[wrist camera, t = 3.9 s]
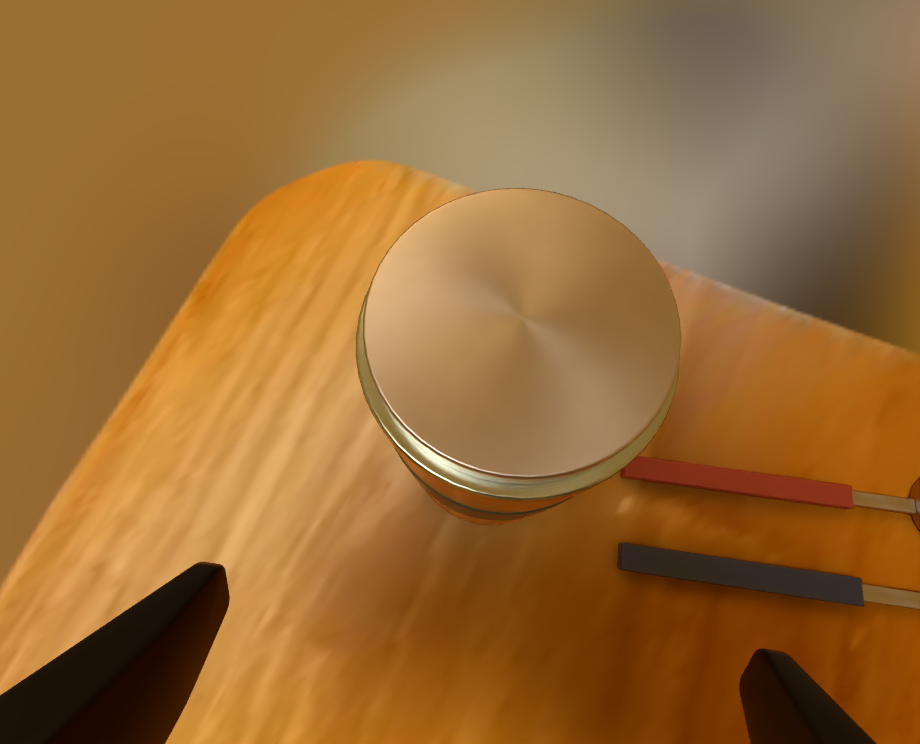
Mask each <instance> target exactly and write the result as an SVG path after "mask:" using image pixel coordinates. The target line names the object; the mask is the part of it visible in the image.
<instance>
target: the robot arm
mask: <svg viewBox="0 0 920 744" xmlns="http://www.w3.org/2000/svg"><path fill="white" fill-rule="evenodd" d="M229 599H230V597H229V590H228V584H227V577H226V571H225V568H224V567H223V566H222V565H220V564H215V563H209V562H199V563H197V564H195V565H193V566H191V567H190V568H189V569H187V570H186V571H184V572H183V573H181V574H180V575H178V576H177V577H175V578H174V579H172V580H171V581H169V582H168V583H166V584H165V585H163V586H162V587H160V588H159V589H157V590H156V591H154V592H153V593H151V594H150V595H148V596H147V597H146V598H144V599H143V600H141V601H140V602H138V603H137V604H135V605H134V606H132V607H131V608H129V609H128V610H126V611H125V612H123V613H122V614H120V615H119V616H117V617H116V618H114V619H113V620H111V621H110V622H108V623H107V624H105V625H104V626H103V627H101V628H100V629H98V630H97V631H95V632H94V633H92V634H91V635H89V636H88V637H86V638H85V639H83V640H82V641H80V642H79V643H77V644H76V645H74V646H73V647H71V648H70V649H68V650H67V651H65V652H64V653H62V654H61V655H60V656H58V657H57V658H55V659H54V660H52V661H51V662H49V663H48V664H46V665H45V666H43V667H42V668H40V669H39V670H37V671H36V672H34V673H33V674H31V675H30V676H28V677H27V678H25V679H24V680H22V681H21V682H19V683H18V684H17V685H15V686H14V687H12V688H11V689H9V690H8V691H6V692H5V693H3V694H2V695H0V744H165V743H166V741H167V739H168V737H169V735H170V733H171V732H172V730H173V728H174V726H175V724H176V723H177V721H178V719H179V717H180V715H181V713H182V711H183V709H184V707H185V705H186V703H187V701H188V699H189V697H190V695H191V692H192V690H193V688H194V686H195V684H196V681H197V679H198V677H199V674H200V672H201V670H202V667H203V665H204V663H205V660H206V658H207V656H208V654H209V651H210V649H211V647H212V644H213V642H214V640H215V637H216V635H217V633H218V630H219V628H220V626H221V624H222V621H223V619H224V617H225V614H226V612H227V609H228V606H229ZM739 691H740V697H741V702H742V706H743V711H744V715H745V720H746V724H747V729H748V733H749V738H750V742H751V744H876V743H875V742H874V741H873V740H872V739H871V738H870V737H869V736H868V735H867V734H866V733H865V732H864V730H863V729H862V728H861V727H860V726H859V725H858V724H857V723H856V722H855V721H854V720H853V719H852V718H851V717H850V716H849V715H848V714H847V713H846V712H845V711H844V710H843V709H842V708H841V707H840V706H839V705H838V704H837V703H836V702H835V701H834V700H833V699H832V698H831V697H830V696H829V695H828V694H827V693H826V692H825V691H824V690H823V689H822V688H821V687H820V686H819V685H818V684H817V683H816V682H815V681H814V680H813V679H812V678H811V677H810V676H809V675H808V674H807V673H806V672H805V671H804V670H803V669H802V668H801V667H800V666H799V665H798V664H797V663H796V662H795V661H794V660H793V659H792V658H791V657H790V656H789V655H787V654H786V653H784V652H781V651H776V650H770V649H763V648H760V649H758V650H756V651H755V652H754V654H753V656H752V658H751V659H750V661H749V663H748V665H747V667H746V668H745V670H744V672H743V674H742V676H741V678H740V683H739Z"/></svg>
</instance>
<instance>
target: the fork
mask: <svg viewBox="0 0 920 744" xmlns="http://www.w3.org/2000/svg"><path fill="white" fill-rule="evenodd" d="M617 568H618V569H619V570H625V571H631V572H638V573H644V574H651V575H658V576H664V577H671V578H677V579H684V580H691V581H697V582H704V583H710V584H717V585H724V586H730V587H737V588H743V589H750V590H757V591H763V592H770V593H776V594H783V595H789V596H796V597H803V598H809V599H816V600H822V601H829V602H836V603H842V604H849V605H855V606H862V607H863V606H864V601H866V602H873V603H880V604H886V605H893V606H900V607H906V608H913V609H919V610H920V592H913V591H906V590H899V589H893V588H886V587H879V586H873V585H866V584H862V580H861V578H857V577H851V576H844V575H837V574H830V573H824V572H817V571H810V570H803V569H797V568H790V567H783V566H777V565H770V564H763V563H756V562H750V561H743V560H736V559H729V558H723V557H716V556H709V555H703V554H696V553H689V552H682V551H676V550H669V549H662V548H655V547H649V546H642V545H635V544H628V543H619V544H618V563H617Z"/></svg>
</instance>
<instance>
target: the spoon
mask: <svg viewBox="0 0 920 744" xmlns="http://www.w3.org/2000/svg"><path fill="white" fill-rule="evenodd" d="M621 477H622V478H628V479H635V480H642V481H649V482H657V483H664V484H671V485H678V486H685V487H692V488H699V489H706V490H713V491H720V492H727V493H734V494H741V495H748V496H755V497H762V498H770V499H777V500H784V501H791V502H798V503H805V504H812V505H819V506H826V507H833V508H840V509H852V508H854V506H856V507H863V508H870V509H877V510H884V511H891V512H898V513H905V514H911V515H912V518H913V520H914V522H915V524H916V526H917V528H918V529H919V530H920V479H919V480H918V481H917V482H916V483H915V484H914V486H913V487H912V489H911V492H910V496H909V499H908V498H900V497H893V496H886V495H879V494H872V493H865V492H857V491H852V487H851V486H849V485H842V484H835V483H828V482H820V481H813V480H806V479H799V478H792V477H784V476H777V475H770V474H763V473H756V472H748V471H741V470H734V469H727V468H720V467H713V466H705V465H698V464H691V463H684V462H677V461H669V460H662V459H655V458H648V457H641V456H637V457H636V458H635V459H634V460H633V461H632V462H631V463H630V464H629V465H628V466H626V467H625V468H623V469H622V470H621Z"/></svg>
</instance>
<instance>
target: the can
mask: <svg viewBox="0 0 920 744" xmlns="http://www.w3.org/2000/svg"><path fill="white" fill-rule="evenodd" d="M680 348H681V330H680V318H679V314H678V309H677V305H676V300H675V297H674V295H673V292H672V289H671V287H670V284H669V282H668V280H667V278H666V276H665V274H664V272H663V270H662V268H661V266H660V265H659V263H658V262H657V261H656V259H655V258H654V256H653V255H652V253H651V252H650V251H649V249H648V248H647V247H646V246H645V245H644V244H643V243H642V242H641V241H640V240H639V238H638V237H637V236H635V234H633V233H632V232H631V231H630V230H629V229H628V228H627V227H625V226H624V225H623V224H622V223H620V222H619V221H617V220H616V219H615V218H613V217H612V216H610V215H609V214H607V213H605V212H604V211H602V210H600V209H598V208H596V207H594V206H592V205H590V204H588V203H586V202H583V201H580V200H578V199H576V198H573V197H569V196H566V195H563V194H559V193H556V192H550V191H544V190H538V189H526V188H507V189H495V190H490V191H482V192H478V193H474V194H471V195H467V196H463V197H460V198H458V199H455V200H453V201H451V202H448V203H446V204H444V205H442V206H440V207H438V208H436V209H434V210H433V211H431V212H429V213H428V214H426V215H425V216H423V217H422V218H421V219H419V220H418V221H416V222H415V223H414V224H413V225H412V226H410V227H409V228H408V229H407V230H406V231H405V232H404V233H403V234H402V235H401V236H400V237H399V238H398V239H397V240H396V242H395V243H394V244H393V245H392V246H391V248H390V249H389V250H388V252H387V253H386V255H385V256H384V258H383V260H382V261H381V263H380V264H379V266H378V268H377V271H376V273H375V275H374V277H373V279H372V281H371V284H370V287H369V289H368V292H367V294H366V296H365V298H364V302H363V305H362V308H361V311H360V315H359V320H358V326H357V332H356V360H357V368H358V375H359V379H360V382H361V386H362V390H363V393H364V396H365V398H366V401H367V403H368V405H369V408H370V410H371V412H372V414H373V416H374V417H375V419H376V421H377V422H378V424H379V426H380V427H381V429H382V430H383V432H384V433H385V435H386V436H387V438H388V439H389V440H390V442H391V443H392V444H393V446H394V448H395V449H396V451H397V453H398V454H399V456H400V458H401V459H402V461H403V462H404V464H405V465H406V467H407V468H408V469H409V471H410V472H411V473H412V475H413V476H414V477H415V478H416V480H417V481H418V482H419V483H420V485H421V486H422V487H423V488H424V489H425V490H426V492H427V493H428V494H429V495H430V497H431V498H432V499H433V500H434V501H435V502H436V503H437V504H438V505H439V506H440V507H441V508H443V509H444V510H446V511H447V512H448V513H450V514H452V515H454V516H456V517H458V518H460V519H462V520H465V521H468V522H471V523H476V524H482V525H502V524H507V523H512V522H515V521H518V520H521V519H523V518H525V517H528V516H531V515H534V514H537V513H540V512H542V511H544V510H547V509H549V508H551V507H554V506H556V505H558V504H560V503H562V502H564V501H566V500H568V499H570V498H572V497H573V496H574V495H576V494H579V493H581V492H583V491H585V490H587V489H590V488H591V487H593V486H595V485H597V484H599V483H601V482H603V481H605V480H607V479H609V478H611V477H612V476H613V475H615V474H616V473H618V472H619V471H621V470H622V469H623V468H625V467H626V466H628V465H629V464H630V463H631V462H632V461H633V460H634V459H635V458H636V457H637V456H638V455H639V454H640V453H641V452H642V451H643V450H644V449H645V448H646V446H647V445H648V444H649V443H650V441H651V440H652V439H653V437H654V436H655V435H656V433H657V432H658V430H659V428H660V426H661V425H662V423H663V421H664V419H665V417H666V416H667V413H668V410H669V408H670V405H671V403H672V400H673V397H674V393H675V389H676V384H677V380H678V372H679V360H680Z"/></svg>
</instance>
